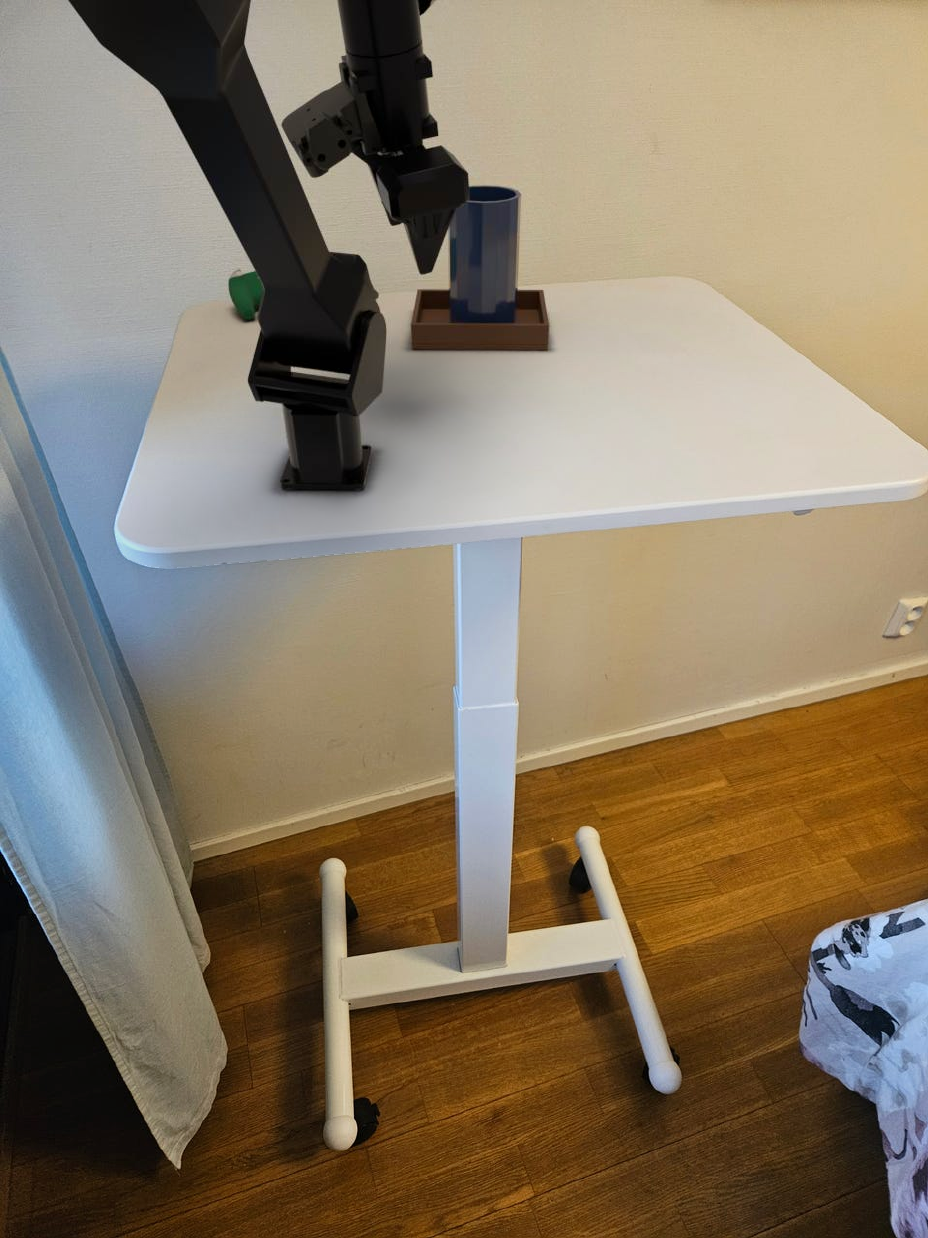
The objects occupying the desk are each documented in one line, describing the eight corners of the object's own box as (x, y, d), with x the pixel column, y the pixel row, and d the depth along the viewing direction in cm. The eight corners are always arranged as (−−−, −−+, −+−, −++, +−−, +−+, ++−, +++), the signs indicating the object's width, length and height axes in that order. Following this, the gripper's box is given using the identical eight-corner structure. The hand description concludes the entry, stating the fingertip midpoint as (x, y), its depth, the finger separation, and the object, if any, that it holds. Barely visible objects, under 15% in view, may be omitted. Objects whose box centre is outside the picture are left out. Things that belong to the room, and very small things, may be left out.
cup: (528, 323, 92) (534, 191, 83) (490, 343, 87) (492, 205, 79) (475, 309, 95) (476, 181, 87) (436, 328, 91) (433, 195, 82)
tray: (547, 350, 87) (549, 324, 86) (411, 349, 87) (410, 324, 86) (542, 313, 96) (543, 289, 94) (418, 312, 96) (417, 288, 94)
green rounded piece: (311, 315, 100) (290, 270, 100) (319, 298, 97) (297, 251, 97) (239, 332, 96) (216, 285, 96) (245, 315, 93) (222, 265, 93)
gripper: (254, 26, 67) (299, 221, 79) (302, 112, 55) (346, 325, 68) (389, -2, 68) (413, 194, 81) (463, 77, 57) (478, 291, 69)
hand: (410, 247), depth 74 cm, fingers open, 9 cm apart
